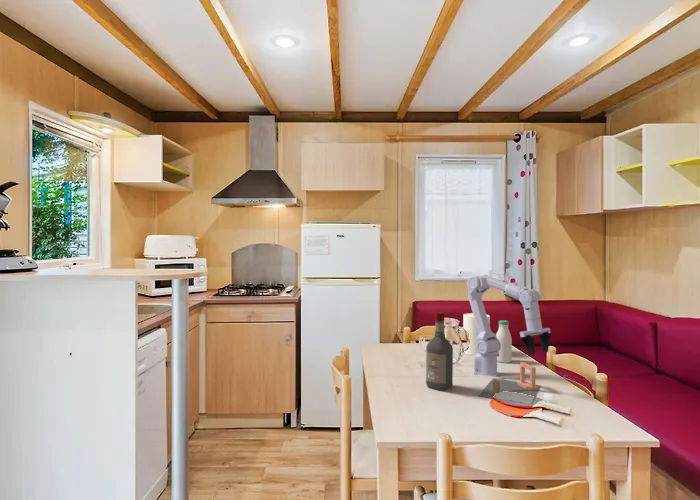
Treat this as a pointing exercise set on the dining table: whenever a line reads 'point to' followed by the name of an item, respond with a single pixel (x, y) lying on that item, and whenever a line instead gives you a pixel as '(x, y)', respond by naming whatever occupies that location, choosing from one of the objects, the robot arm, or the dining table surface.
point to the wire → (497, 382)
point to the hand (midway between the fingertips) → (538, 353)
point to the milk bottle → (504, 342)
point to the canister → (472, 332)
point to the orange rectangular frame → (530, 385)
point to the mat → (507, 389)
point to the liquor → (439, 358)
